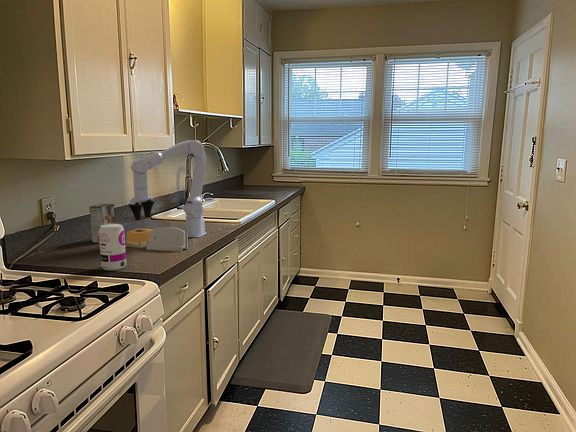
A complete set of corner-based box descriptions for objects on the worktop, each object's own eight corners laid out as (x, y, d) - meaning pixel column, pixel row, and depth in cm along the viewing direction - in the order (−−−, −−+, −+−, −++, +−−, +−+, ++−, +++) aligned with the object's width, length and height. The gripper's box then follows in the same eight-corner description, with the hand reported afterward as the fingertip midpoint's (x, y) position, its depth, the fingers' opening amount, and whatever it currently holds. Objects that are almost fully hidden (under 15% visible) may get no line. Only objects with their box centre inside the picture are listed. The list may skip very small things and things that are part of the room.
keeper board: (138, 239, 199) (138, 226, 197) (158, 240, 196) (158, 226, 195) (120, 246, 185) (119, 232, 184) (141, 247, 183) (140, 233, 182)
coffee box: (104, 238, 202) (101, 203, 199) (117, 238, 201) (114, 203, 198) (91, 242, 193) (89, 206, 191) (105, 243, 192) (102, 206, 189)
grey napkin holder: (145, 249, 180) (148, 225, 182) (151, 250, 185) (154, 227, 186) (182, 251, 176) (185, 227, 178) (187, 252, 181) (190, 228, 182)
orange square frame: (138, 237, 196) (137, 228, 195) (154, 238, 194) (153, 229, 193) (127, 241, 188) (126, 232, 188) (143, 242, 186) (143, 233, 186)
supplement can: (129, 264, 158) (127, 223, 156) (121, 270, 150) (118, 227, 148) (106, 264, 158) (103, 223, 156) (97, 271, 150) (94, 227, 148)
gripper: (142, 185, 198) (143, 215, 200) (122, 189, 184) (124, 221, 186) (156, 186, 196) (157, 216, 198) (137, 189, 182) (139, 221, 184)
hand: (142, 218), depth 192 cm, fingers open, 7 cm apart
